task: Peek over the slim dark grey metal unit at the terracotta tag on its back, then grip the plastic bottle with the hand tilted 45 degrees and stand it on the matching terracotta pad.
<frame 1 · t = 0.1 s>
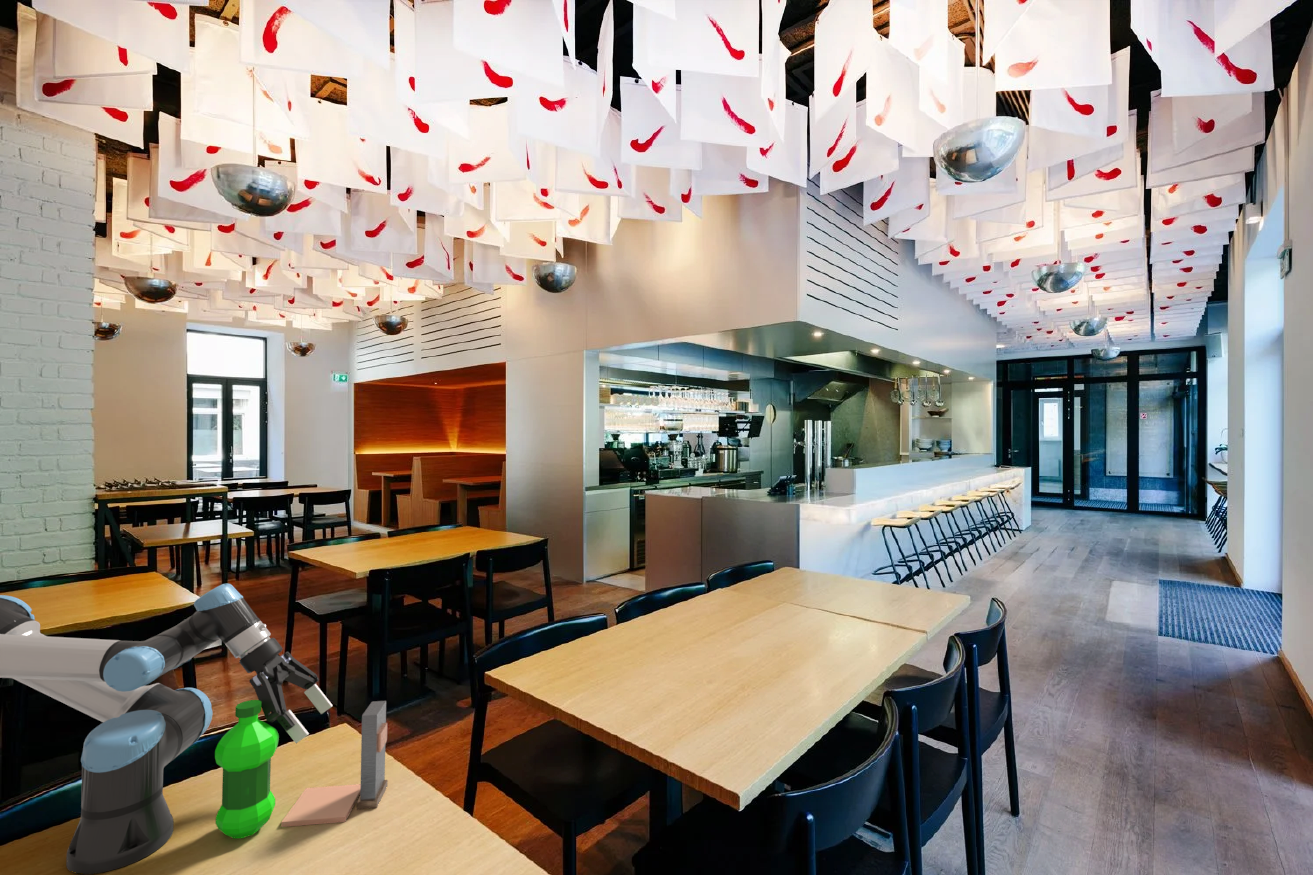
hand: (315, 723, 132), 15 cm above the table, tool tilted 35°, fingers open, 13 cm apart
metal unit: (372, 797, 130), on the table
plastic bottle: (245, 830, 119), on the table
terracotta pad: (324, 806, 127), on the table
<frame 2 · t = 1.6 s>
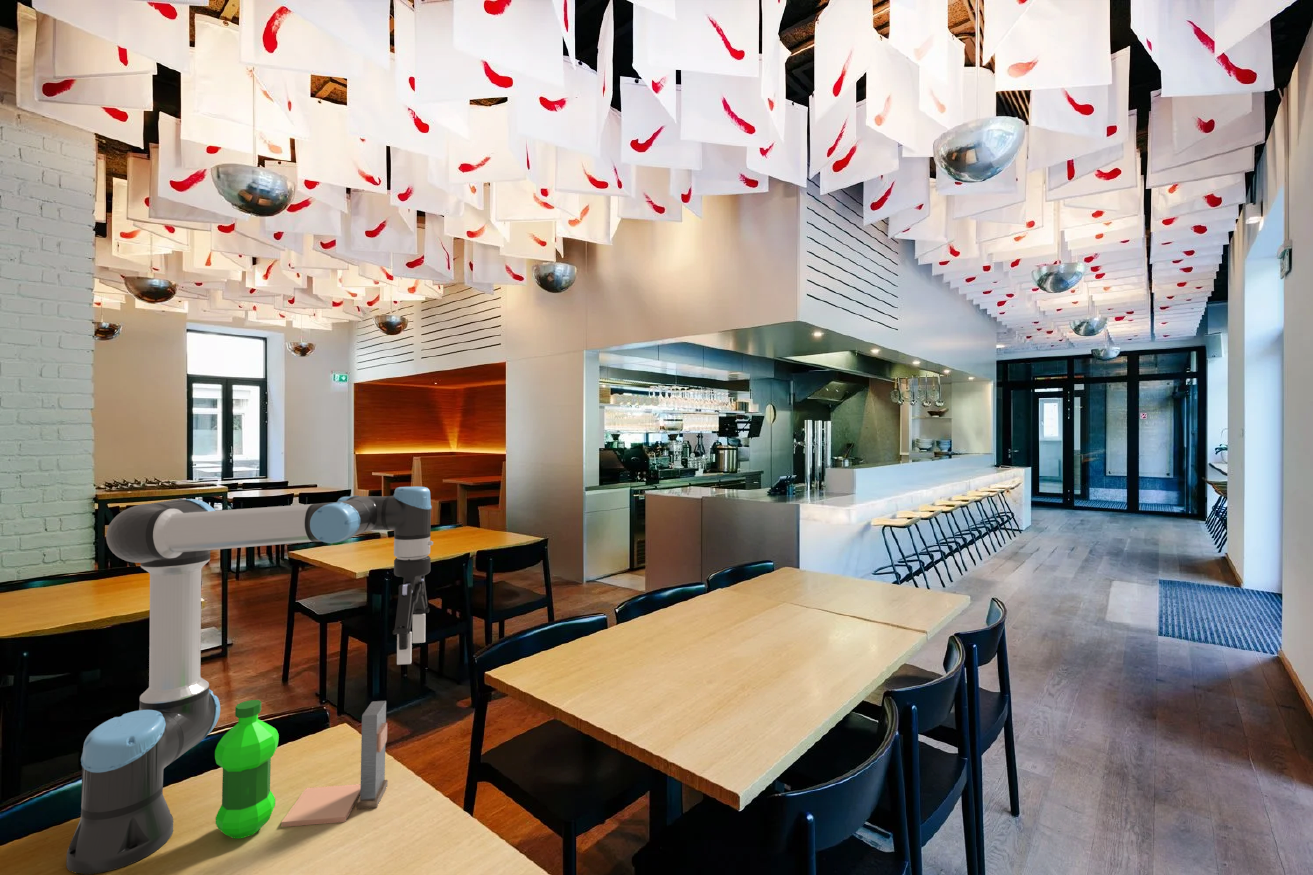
hand: (411, 652, 132), 31 cm above the table, tool pointing down, fingers open, 13 cm apart
nothing on the table moved.
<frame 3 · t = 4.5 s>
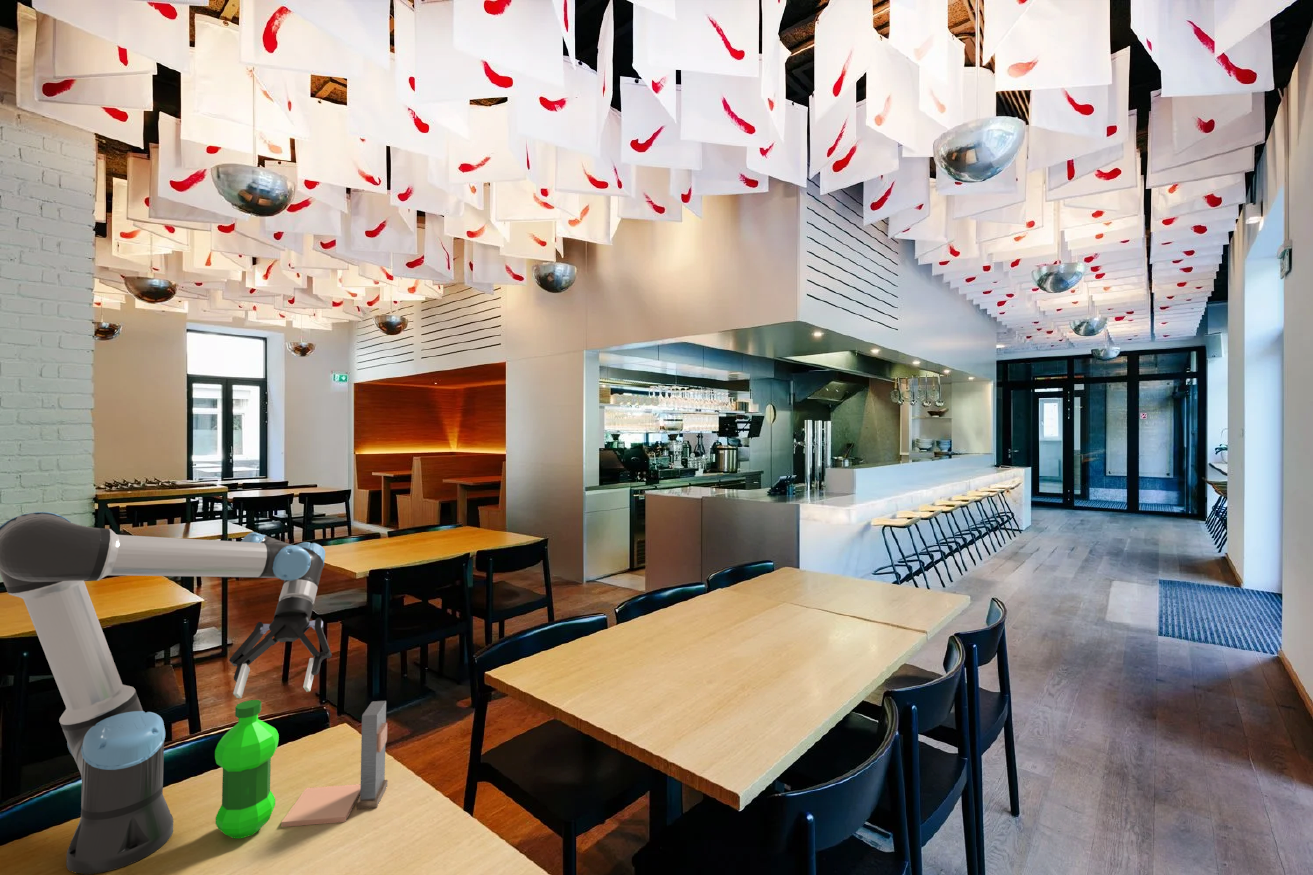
hand: (272, 692, 130), 23 cm above the table, tool tilted 40°, fingers open, 13 cm apart
nothing on the table moved.
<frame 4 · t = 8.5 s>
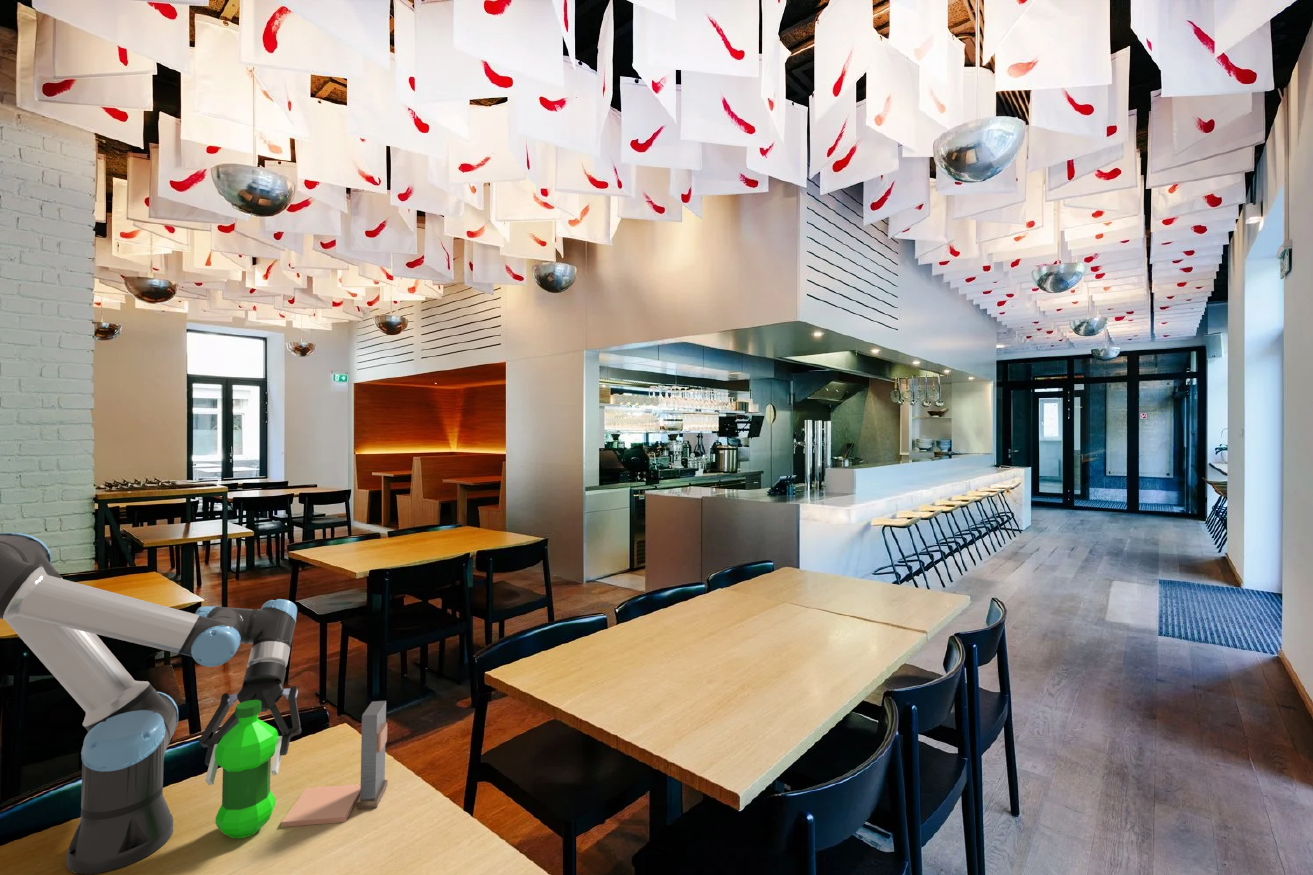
hand: (242, 777, 116), 12 cm above the table, tool tilted 45°, fingers closed on plastic bottle, 10 cm apart
plastic bottle: (245, 830, 119), on the table, touching gripper
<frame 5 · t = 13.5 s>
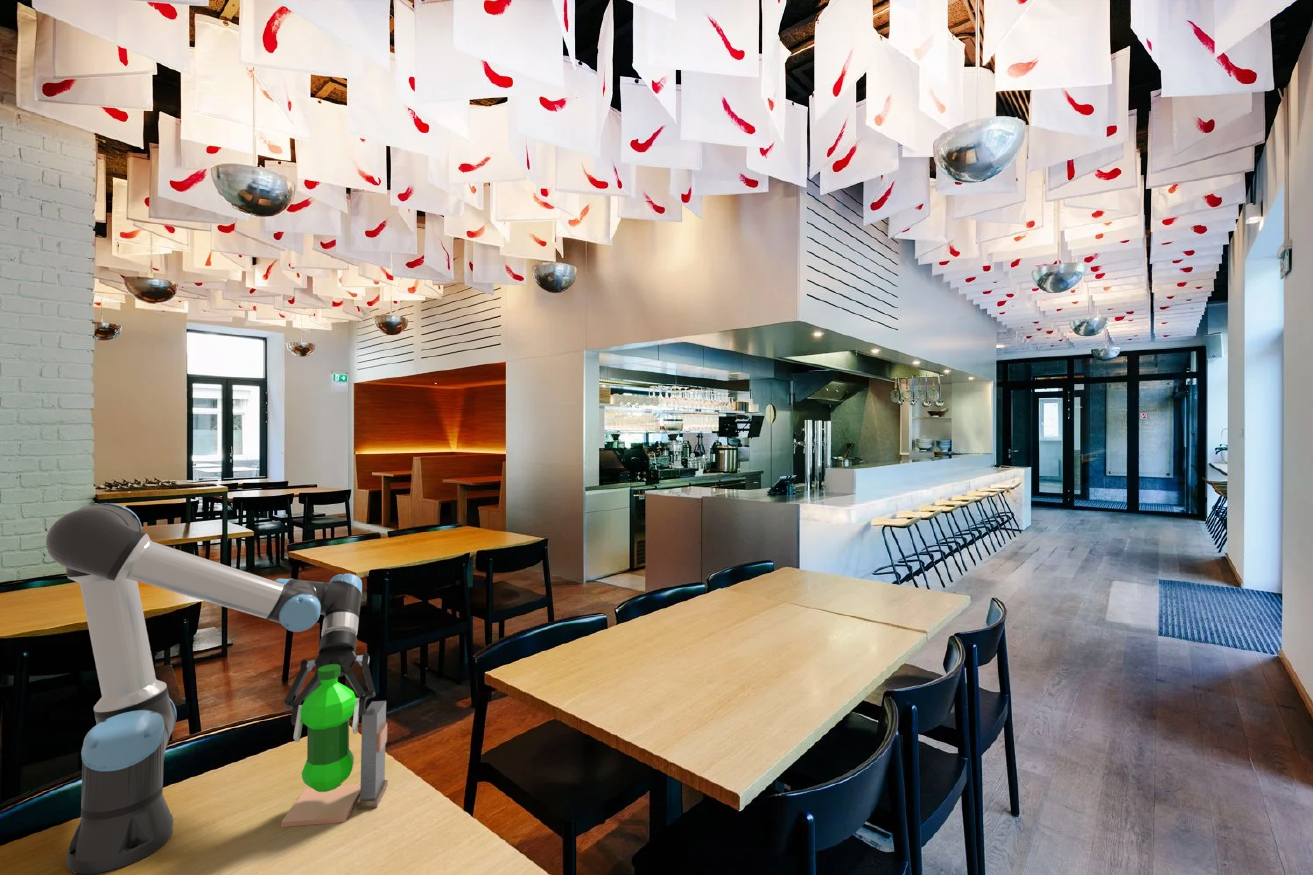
hand: (326, 735, 125), 16 cm above the table, tool tilted 45°, fingers closed on plastic bottle, 10 cm apart
plastic bottle: (328, 785, 127), point 4 cm above the table, touching gripper
when the fingers open (16 cm above the table, at t = 14.6 s): plastic bottle drops 3 cm, resting on terracotta pad.
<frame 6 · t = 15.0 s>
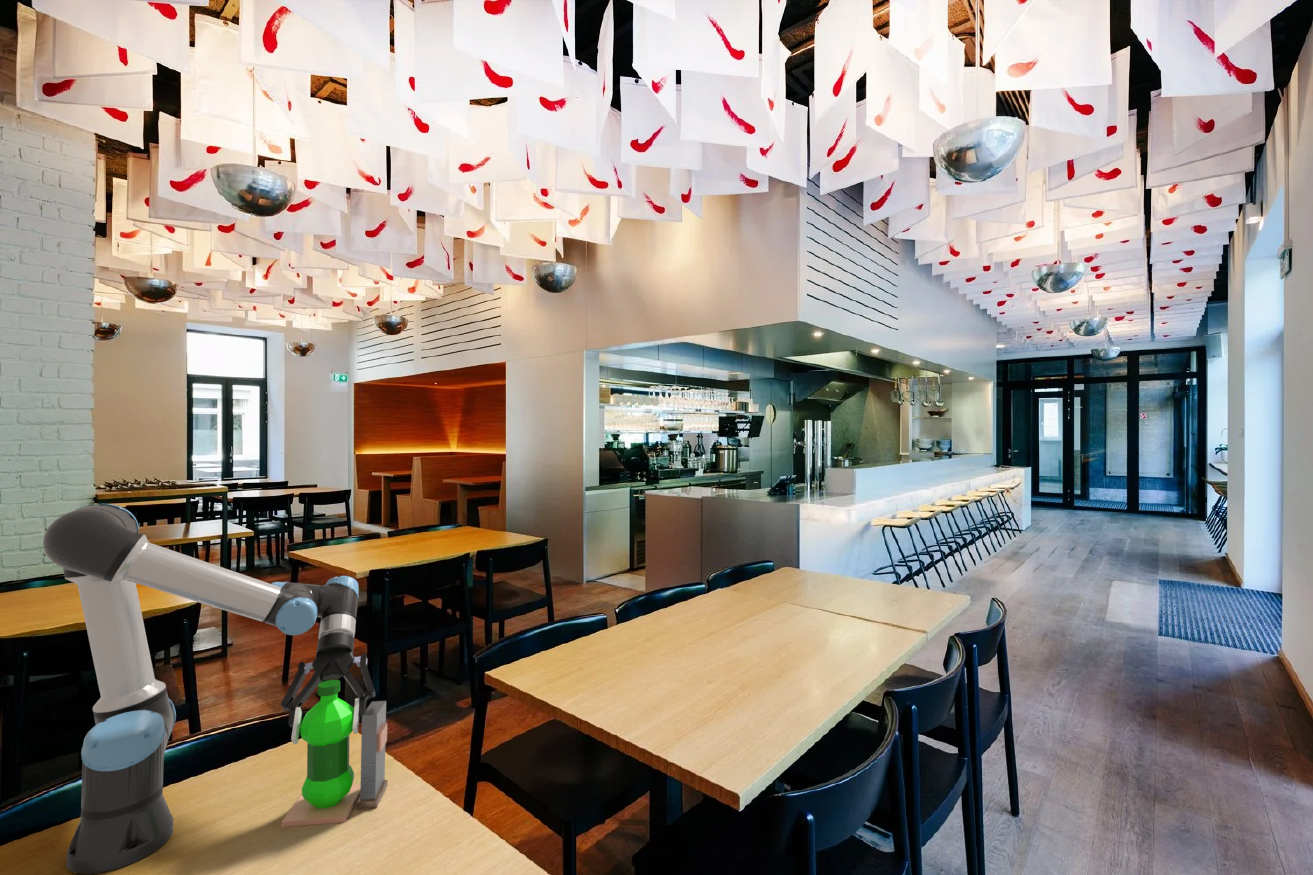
hand: (325, 736, 125), 16 cm above the table, tool tilted 45°, fingers open, 11 cm apart
plastic bottle: (328, 801, 127), point 1 cm above the table, touching gripper, terracotta pad
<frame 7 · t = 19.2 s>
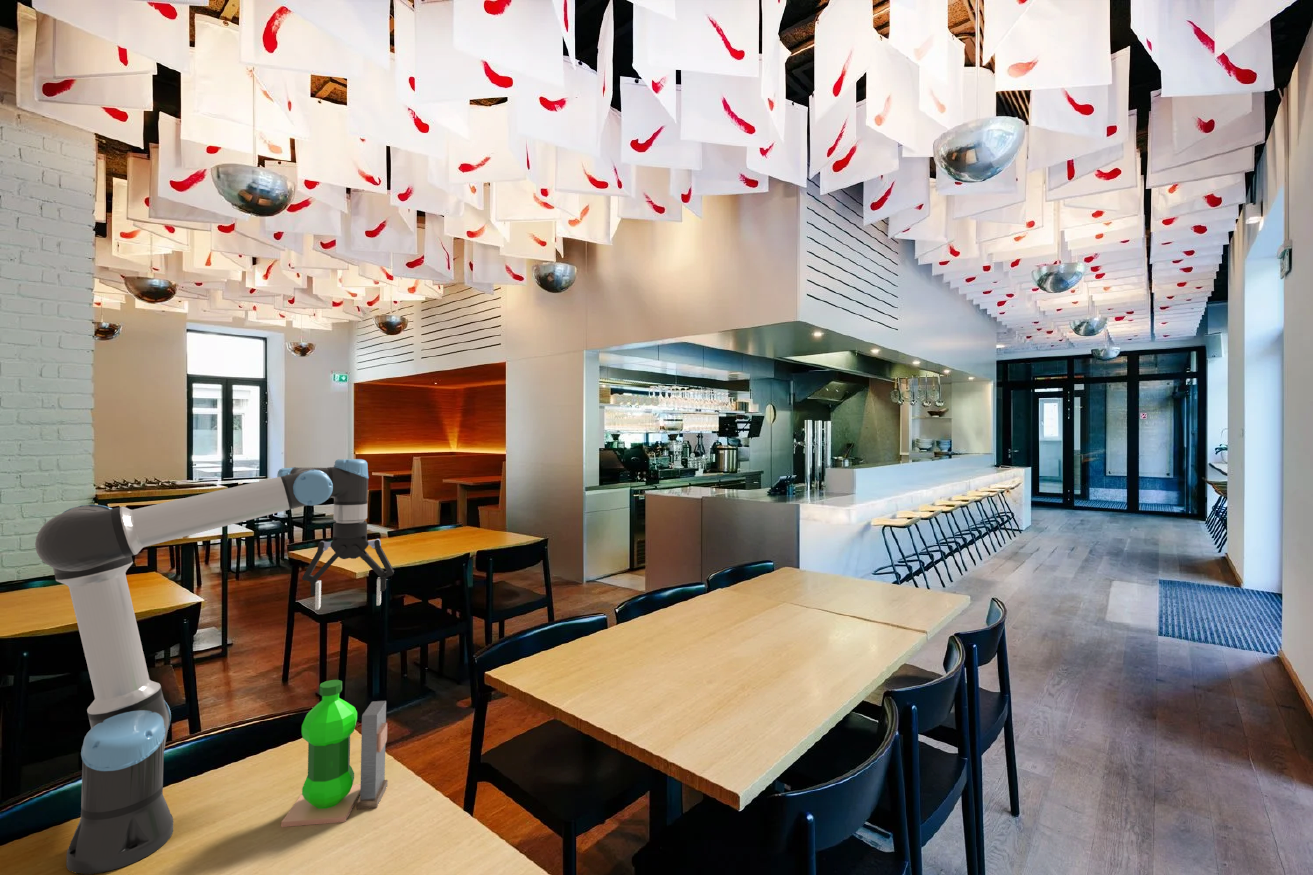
hand: (348, 606, 149), 37 cm above the table, tool pointing down, fingers open, 13 cm apart
plastic bottle: (328, 802, 127), point 1 cm above the table, touching terracotta pad
at the end: plastic bottle inside the target area on the terracotta pad (0.7 cm from its centre), point 0.8 cm above the terracotta pad's base; plastic bottle tilted 0°; the gripper is holding nothing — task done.
